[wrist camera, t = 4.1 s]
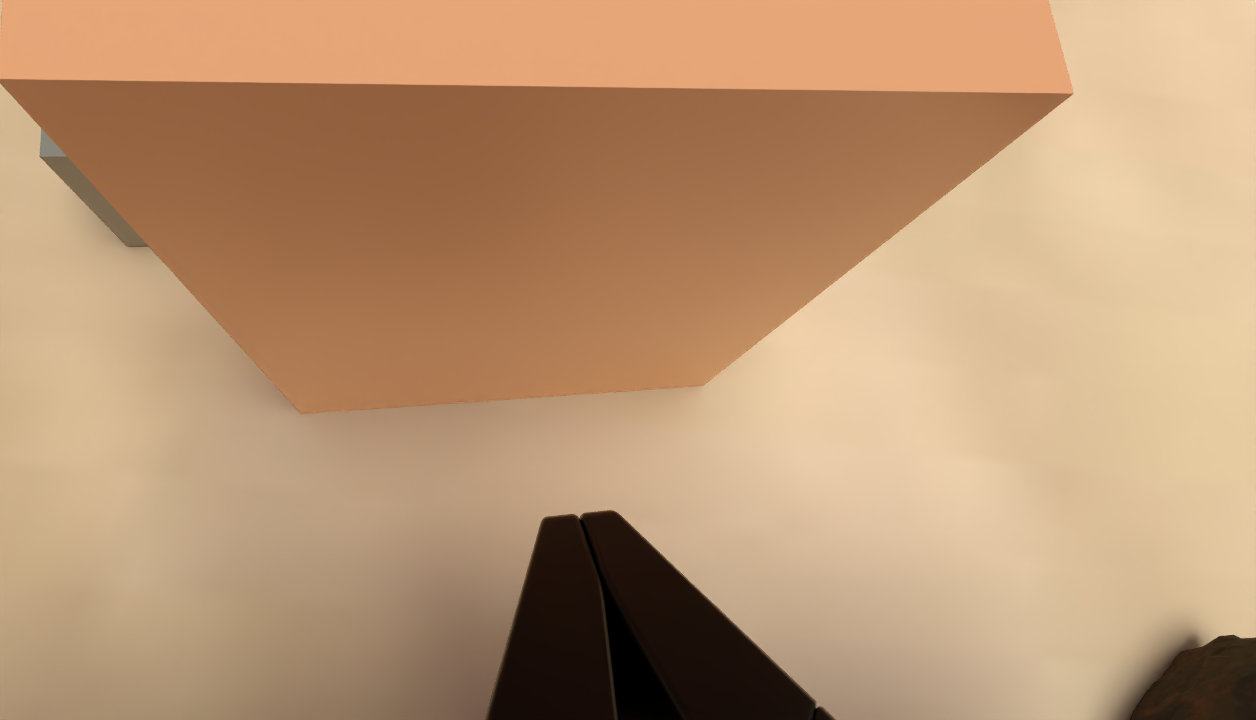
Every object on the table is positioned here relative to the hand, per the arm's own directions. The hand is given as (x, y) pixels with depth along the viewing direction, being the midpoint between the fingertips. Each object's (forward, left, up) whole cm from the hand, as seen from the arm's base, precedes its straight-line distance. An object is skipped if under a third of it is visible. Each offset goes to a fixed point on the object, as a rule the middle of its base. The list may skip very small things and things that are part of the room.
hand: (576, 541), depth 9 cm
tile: (+4, +3, -7) cm, 8 cm away
